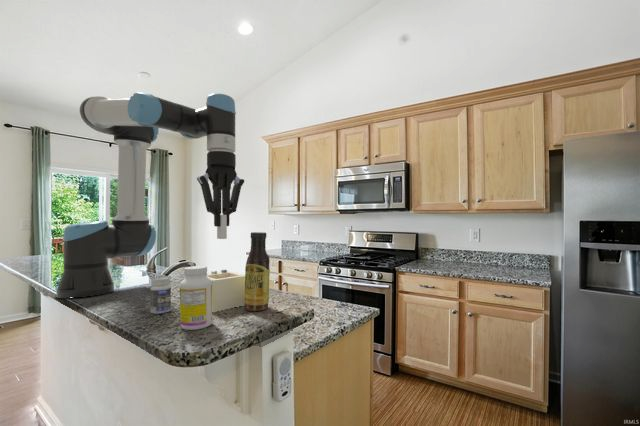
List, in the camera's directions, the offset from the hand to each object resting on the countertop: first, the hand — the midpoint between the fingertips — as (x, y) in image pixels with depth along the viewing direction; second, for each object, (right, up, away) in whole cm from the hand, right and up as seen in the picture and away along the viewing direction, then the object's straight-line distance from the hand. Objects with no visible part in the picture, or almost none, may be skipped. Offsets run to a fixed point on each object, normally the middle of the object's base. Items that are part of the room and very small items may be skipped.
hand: (221, 238), depth 88 cm
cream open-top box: (0, -18, 0) cm, 18 cm away
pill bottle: (-14, -18, -5) cm, 24 cm away
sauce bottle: (+11, -18, -5) cm, 21 cm away
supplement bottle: (0, -18, -17) cm, 25 cm away
